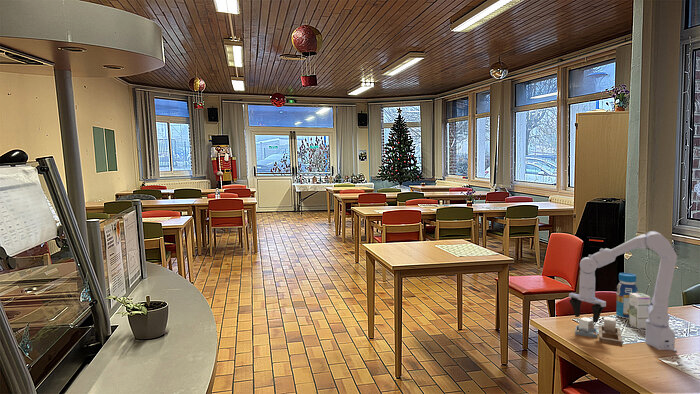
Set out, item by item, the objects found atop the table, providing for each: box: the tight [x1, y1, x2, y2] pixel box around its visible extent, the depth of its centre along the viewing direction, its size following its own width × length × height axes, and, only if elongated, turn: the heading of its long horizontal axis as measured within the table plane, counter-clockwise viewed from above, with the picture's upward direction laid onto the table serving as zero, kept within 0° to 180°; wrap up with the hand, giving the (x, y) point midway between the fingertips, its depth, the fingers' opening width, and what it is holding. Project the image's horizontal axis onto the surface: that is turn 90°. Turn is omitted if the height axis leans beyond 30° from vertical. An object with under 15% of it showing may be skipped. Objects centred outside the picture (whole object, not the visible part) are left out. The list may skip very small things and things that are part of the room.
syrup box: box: [628, 292, 651, 329], centre depth 186 cm, size 6×6×14 cm
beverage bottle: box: [615, 272, 639, 320], centre depth 199 cm, size 8×8×20 cm
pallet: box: [598, 324, 623, 346], centre depth 174 cm, size 16×8×2 cm, turn 150°
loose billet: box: [578, 316, 595, 334], centre depth 178 cm, size 4×4×6 cm
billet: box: [603, 316, 617, 333], centre depth 177 cm, size 4×4×6 cm
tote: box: [574, 325, 598, 339], centre depth 178 cm, size 8×8×2 cm
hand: (586, 319), depth 178 cm, fingers open, 7 cm apart
